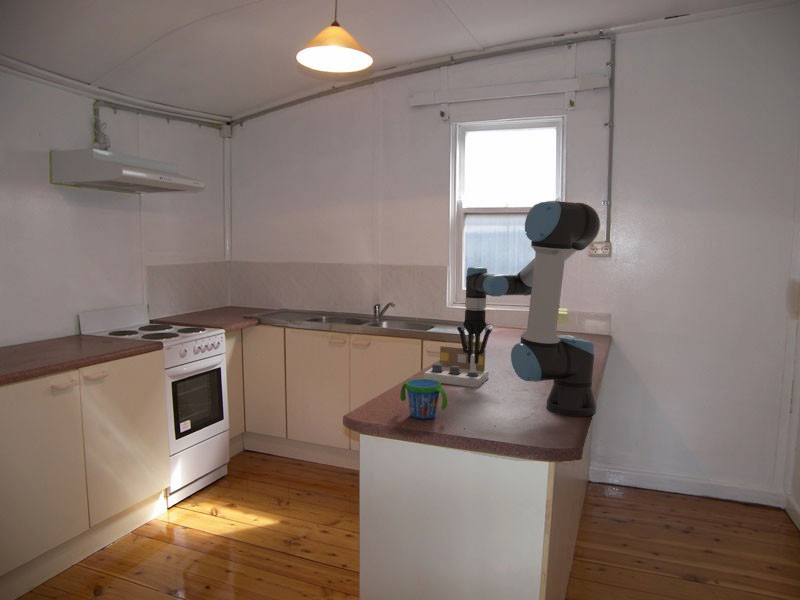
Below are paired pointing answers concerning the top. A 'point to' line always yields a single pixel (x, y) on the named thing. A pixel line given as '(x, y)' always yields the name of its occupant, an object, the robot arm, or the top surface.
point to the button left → (437, 368)
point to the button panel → (459, 358)
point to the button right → (472, 374)
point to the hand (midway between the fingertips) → (472, 371)
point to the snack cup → (423, 397)
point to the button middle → (454, 370)
